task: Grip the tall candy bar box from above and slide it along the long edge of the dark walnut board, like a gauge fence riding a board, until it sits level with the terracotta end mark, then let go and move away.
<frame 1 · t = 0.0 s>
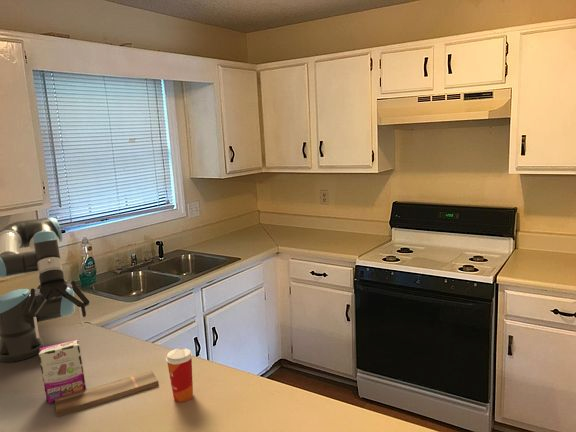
hand: (61, 331, 155), 15 cm above the table, tool tilted 35°, fingers open, 13 cm apart
paper cup: (183, 397, 141), on the table
walnut board: (108, 394, 144), on the table
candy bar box: (67, 396, 145), on the table
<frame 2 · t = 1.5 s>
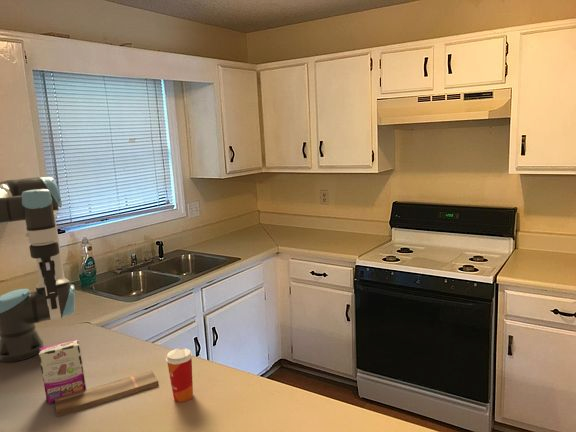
hand: (54, 311, 140), 27 cm above the table, tool pointing down, fingers open, 13 cm apart
nothing on the table moved.
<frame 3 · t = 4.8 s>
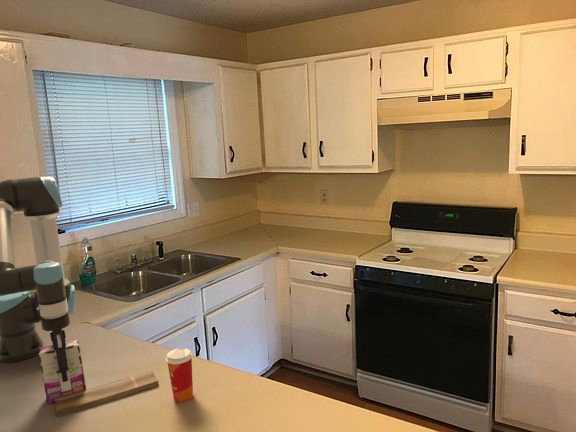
hand: (65, 385, 144), 3 cm above the table, tool pointing down, fingers closed on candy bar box, 5 cm apart
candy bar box: (67, 395, 145), on the table, touching gripper
everything else where it was.
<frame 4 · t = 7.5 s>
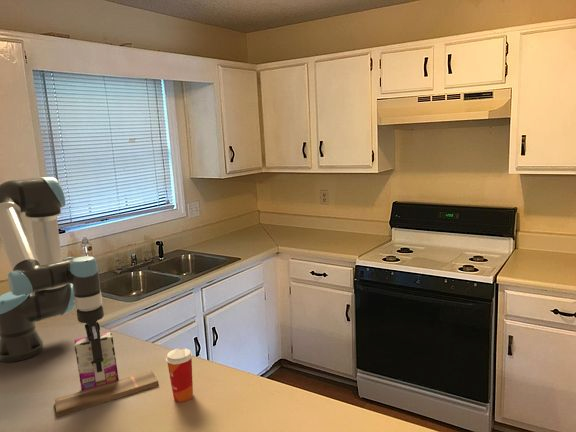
hand: (99, 376, 149), 3 cm above the table, tool pointing down, fingers closed on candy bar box, 5 cm apart
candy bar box: (100, 386, 150), on the table, touching gripper
everything else where it was.
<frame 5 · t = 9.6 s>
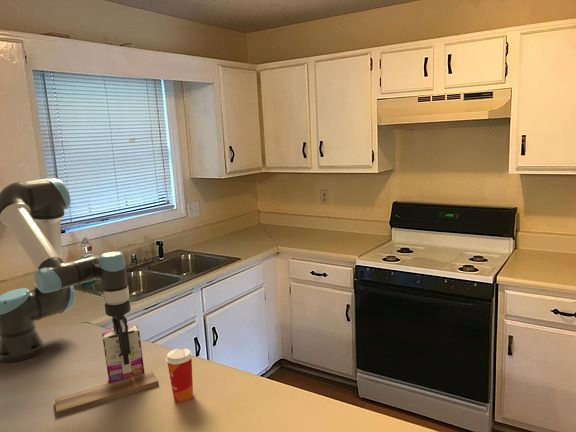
hand: (125, 368, 153), 3 cm above the table, tool pointing down, fingers closed on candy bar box, 5 cm apart
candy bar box: (126, 378, 154), on the table, touching gripper
everything else where it was.
when the fingers open (3 cm above the table, at t = 10.5 s): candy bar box stays where it is, on the table.
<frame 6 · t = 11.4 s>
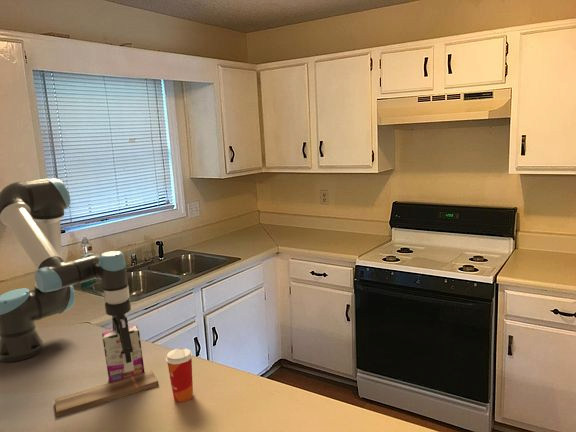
hand: (125, 362, 153), 5 cm above the table, tool pointing down, fingers open, 13 cm apart
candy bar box: (126, 378, 154), on the table
everything else where it was.
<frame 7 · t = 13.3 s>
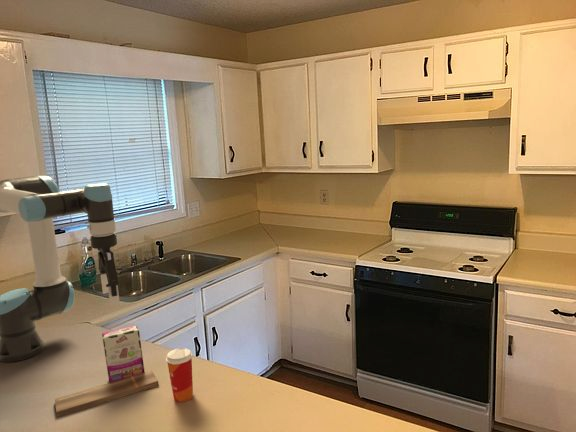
hand: (111, 298, 150), 27 cm above the table, tool pointing down, fingers open, 13 cm apart
nothing on the table moved.
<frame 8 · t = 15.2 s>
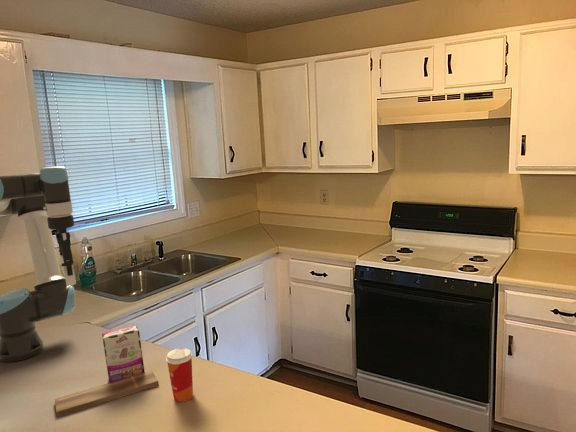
hand: (69, 279, 153), 33 cm above the table, tool pointing down, fingers open, 13 cm apart
nothing on the table moved.
at the end: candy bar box 0.2 cm from the target spot, on the table; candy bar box tilted 0°; the gripper is holding nothing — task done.
